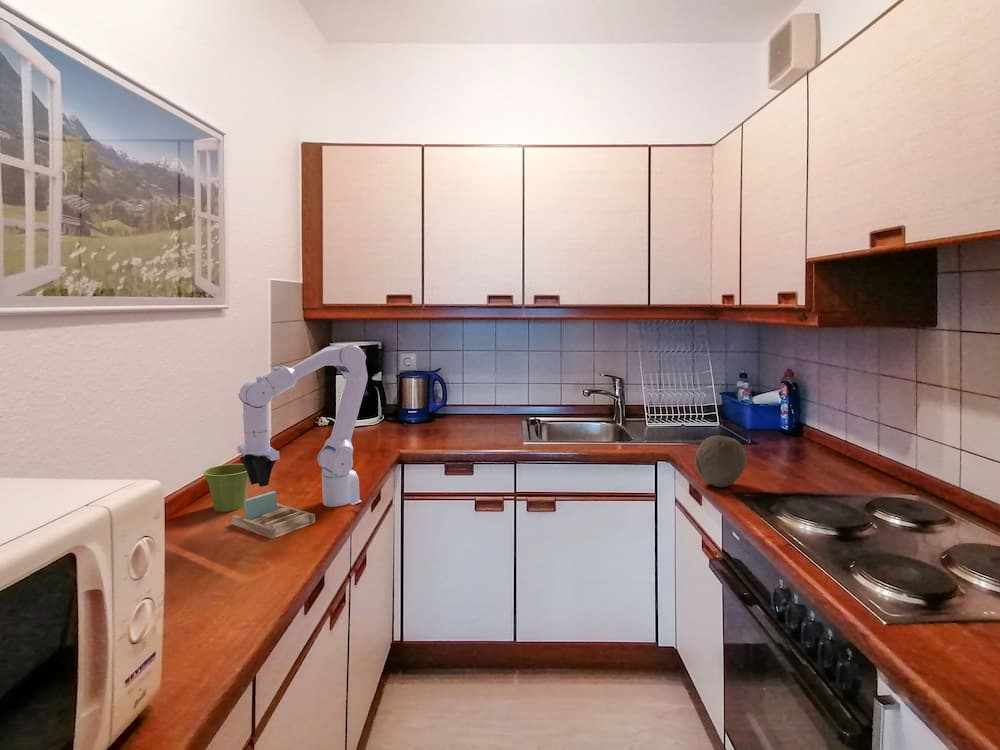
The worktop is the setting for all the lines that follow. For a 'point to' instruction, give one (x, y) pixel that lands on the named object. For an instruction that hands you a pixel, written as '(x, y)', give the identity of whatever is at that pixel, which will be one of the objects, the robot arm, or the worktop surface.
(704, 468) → the cantaloupe
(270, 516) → the offcut upper
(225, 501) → the plant pot
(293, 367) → the robot arm
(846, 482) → the worktop surface
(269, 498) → the teal rectangular plate
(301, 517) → the rack
